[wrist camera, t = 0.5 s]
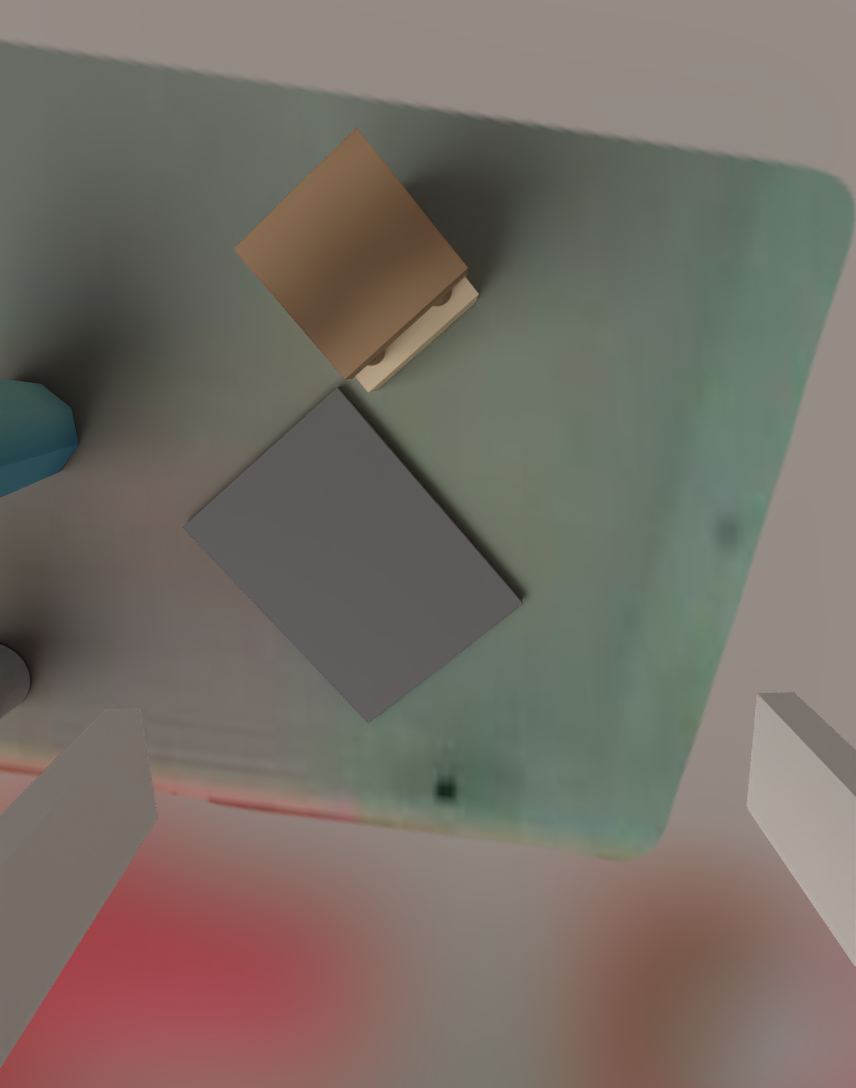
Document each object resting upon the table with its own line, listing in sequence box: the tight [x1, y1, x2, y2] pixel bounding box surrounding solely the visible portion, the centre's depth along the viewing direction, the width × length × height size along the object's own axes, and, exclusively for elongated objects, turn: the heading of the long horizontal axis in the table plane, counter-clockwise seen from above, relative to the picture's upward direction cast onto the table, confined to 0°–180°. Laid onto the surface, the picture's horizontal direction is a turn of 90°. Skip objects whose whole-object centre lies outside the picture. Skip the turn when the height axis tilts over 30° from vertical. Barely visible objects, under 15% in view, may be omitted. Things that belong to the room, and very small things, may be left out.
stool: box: [234, 127, 468, 379], centre depth 29 cm, size 6×6×8 cm
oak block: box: [355, 277, 479, 392], centre depth 34 cm, size 7×7×4 cm
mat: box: [182, 387, 523, 723], centre depth 40 cm, size 16×12×1 cm
